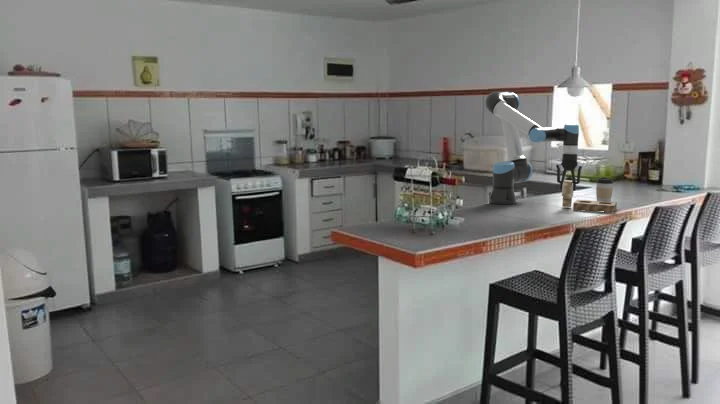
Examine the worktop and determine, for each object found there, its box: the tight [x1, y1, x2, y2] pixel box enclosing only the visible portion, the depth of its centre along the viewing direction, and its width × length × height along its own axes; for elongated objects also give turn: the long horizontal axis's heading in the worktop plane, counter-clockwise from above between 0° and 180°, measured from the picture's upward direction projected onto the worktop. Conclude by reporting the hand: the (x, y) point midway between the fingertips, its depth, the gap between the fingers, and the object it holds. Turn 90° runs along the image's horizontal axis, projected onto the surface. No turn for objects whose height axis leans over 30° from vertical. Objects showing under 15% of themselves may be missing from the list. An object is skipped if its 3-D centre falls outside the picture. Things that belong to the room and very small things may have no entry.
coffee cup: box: [595, 177, 615, 202], centre depth 325 cm, size 9×9×15 cm
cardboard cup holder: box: [572, 199, 618, 213], centre depth 310 cm, size 20×12×4 cm, turn 61°
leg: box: [561, 179, 573, 208], centre depth 316 cm, size 4×4×14 cm
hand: (567, 196), depth 316 cm, fingers closed on leg, 4 cm apart
